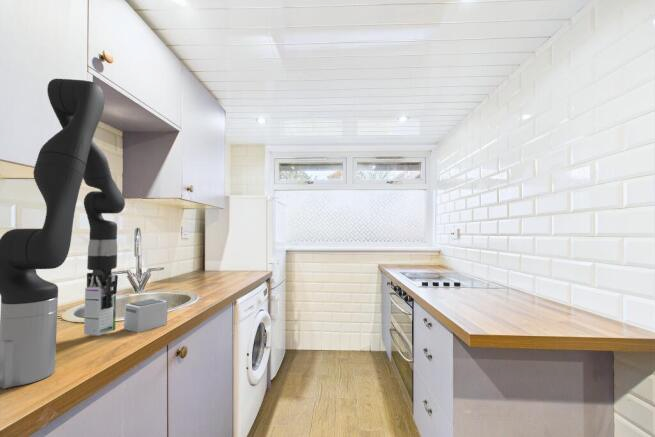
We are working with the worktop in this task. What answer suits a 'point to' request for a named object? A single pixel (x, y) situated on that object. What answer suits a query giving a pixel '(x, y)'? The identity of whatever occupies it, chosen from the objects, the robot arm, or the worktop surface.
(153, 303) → the grey storage bin
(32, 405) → the worktop surface
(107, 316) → the syrup box
